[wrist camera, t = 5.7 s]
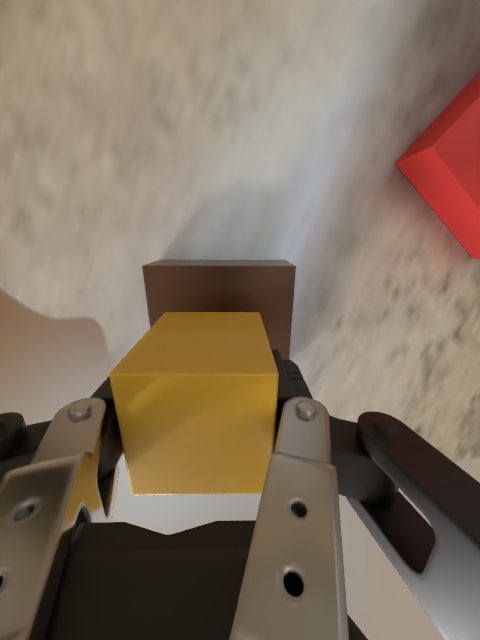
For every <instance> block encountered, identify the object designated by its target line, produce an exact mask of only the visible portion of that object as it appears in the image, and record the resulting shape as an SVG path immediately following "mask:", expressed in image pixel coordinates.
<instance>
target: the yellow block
mask: <svg viewBox="0 0 480 640" xmlns="http://www.w3.org/2000/svg"><path fill="white" fill-rule="evenodd" d="M109 377H110V382H111V387H112V393H113V398H114V403H115V408H116V413H117V419H118V424H119V429H120V434H121V439H122V445H123V450H124V455H125V460H126V465H127V471H128V476H129V481H130V486H131V491H132V494H133V495H184V494H185V495H187V494H262V491H263V487H264V482H265V478H266V473H267V469H268V464H269V460H270V455H271V452H272V450H274V439H275V424H276V409H277V394H278V379H279V374H278V371H277V367H276V364H275V361H274V358H273V354H272V351H271V348H270V345H269V341H268V338H267V335H266V331H265V328H264V325H263V322H262V318H261V315H260V313H259V312H165V313H164V314H163V315H162V316H161V317H160V318H159V319H158V321H157V322H156V323H155V324H154V325H153V326H152V327H151V328H150V329H149V331H148V332H147V333H146V334H145V335H144V336H143V337H142V338H141V339H140V341H139V342H138V343H137V344H136V345H135V346H134V347H133V348H132V349H131V351H130V352H129V353H128V354H127V355H126V356H125V357H124V358H123V359H122V361H121V362H120V363H119V364H118V365H117V366H116V367H115V368H114V370H113V371H112V372H111V373H110V376H109Z"/></svg>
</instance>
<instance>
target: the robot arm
mask: <svg viewBox="0 0 480 640" xmlns="http://www.w3.org/2000/svg"><path fill="white" fill-rule="evenodd" d="M271 351H272V354H273V358H274V361H275V364H276V367H277V371H278V374H279V379H278V394H277V409H276V424H275V439H274V450H272V452H271V455H270V460H269V464H268V469H267V473H266V478H265V482H264V487H263V491H262V496H261V500H260V505H259V510H258V514H257V519H256V521H215V522H212V523H208V524H205V525H202V526H198V527H195V528H192V529H188V530H185V531H182V532H179V533H175V534H171V535H165V534H161V533H158V532H154V531H151V530H148V529H145V528H142V527H139V526H136V525H132V524H129V523H126V522H112V520H113V512H114V505H115V498H116V490H117V482H118V475H119V467H118V461H119V459H120V457H121V455H124V450H123V445H122V439H121V434H120V429H119V424H118V419H117V413H116V408H115V403H114V398H113V393H112V387H111V382H110V377H108V378H107V380H105V381H104V383H103V384H102V385H101V386H100V387H99V388H98V389H97V391H96V392H95V393H94V394H93V395H92V396H91V397H90V398H85V399H81V400H77V401H74V402H72V403H70V404H68V405H66V406H65V407H63V408H62V409H60V410H59V411H58V412H57V413H56V414H55V416H54V418H53V419H52V420H51V421H47V422H42V423H37V424H32V425H27V426H26V424H25V421H24V418H23V416H22V415H21V414H19V413H3V414H0V640H368V639H367V638H366V637H365V636H364V634H363V633H362V632H361V631H360V629H359V628H358V627H357V625H356V624H355V623H354V622H353V620H352V619H351V618H350V617H349V616H348V614H347V607H346V593H345V578H344V565H343V551H342V537H341V524H340V510H339V497H338V494H340V495H343V496H346V498H347V500H348V501H349V503H350V505H351V506H352V507H353V509H354V510H355V511H356V513H357V515H358V516H359V517H360V519H361V520H362V522H363V523H364V524H365V526H366V527H367V529H368V530H369V531H370V533H371V535H372V536H373V537H374V539H375V540H376V542H377V543H378V545H379V546H380V547H381V549H382V550H383V552H384V553H385V554H386V556H387V557H388V559H389V560H390V562H391V563H392V565H393V566H394V567H395V569H396V570H397V572H398V573H399V575H400V576H401V577H402V579H403V580H404V582H405V583H406V584H407V586H408V587H409V589H410V590H411V591H412V593H413V594H414V596H415V597H416V599H417V600H418V602H419V603H420V605H421V606H422V607H423V609H424V610H425V611H426V613H427V614H428V616H429V617H430V619H431V620H432V622H433V623H434V624H435V626H436V627H437V629H438V630H439V632H440V633H441V635H442V636H443V637H444V639H445V640H480V483H479V482H478V481H476V480H475V479H474V478H473V477H471V476H470V475H469V474H467V473H466V472H465V471H463V470H462V469H461V468H460V467H459V466H457V465H456V464H455V463H453V462H452V461H451V460H450V459H448V458H447V457H446V456H445V455H443V454H442V453H441V452H439V451H438V450H437V449H436V448H434V447H433V446H432V445H430V444H429V443H428V442H427V441H425V440H424V439H423V438H422V437H420V436H419V435H418V434H416V433H415V432H414V431H413V430H411V429H410V428H409V427H407V426H406V425H405V424H404V423H402V422H401V421H399V420H398V419H396V418H394V417H392V416H390V415H387V414H384V413H380V412H365V413H363V414H361V415H360V416H359V418H358V422H357V423H355V422H350V421H346V420H341V419H338V418H335V417H332V416H330V415H329V413H328V410H327V409H326V407H325V406H324V405H322V404H321V403H320V402H318V401H316V400H314V399H313V398H312V396H311V393H310V391H309V389H308V387H307V385H306V383H305V381H304V379H303V376H302V374H301V372H300V370H299V368H298V366H297V365H296V364H295V363H294V362H292V361H291V360H282V358H281V356H280V353H279V350H278V349H271ZM399 488H400V489H401V490H402V491H403V493H404V494H405V495H406V496H407V497H408V498H409V499H410V500H411V501H412V502H413V503H414V504H415V505H416V506H417V508H419V510H420V511H421V512H422V513H423V514H424V515H425V516H426V518H427V519H428V520H429V522H430V524H431V526H432V527H431V526H430V525H429V524H428V523H427V521H426V520H425V519H424V518H423V517H422V516H421V515H420V514H419V513H418V512H417V511H416V510H415V508H413V506H412V505H411V504H410V503H409V502H408V501H407V500H406V499H405V498H404V497H403V495H401V493H400V492H399V491H398V489H399Z"/></svg>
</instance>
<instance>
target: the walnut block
mask: <svg viewBox="0 0 480 640" xmlns="http://www.w3.org/2000/svg"><path fill="white" fill-rule="evenodd" d="M295 271H296V266H294V265H293V264H291V263H289V262H287V261H285V260H158V261H155V262H152V263H149V264H146V265H143V274H144V283H145V291H146V299H147V307H148V315H149V323H150V328H151V327H152V326H153V325H154V324H155V323H156V322H157V321H158V319H159V318H160V317H161V316H162V315H163V314H164V313H165V312H259V313H260V315H261V318H262V322H263V325H264V328H265V331H266V335H267V338H268V341H269V345H270V348H271V349H278V350H279V353H280V356H281V358H282V360H289V348H290V335H291V323H292V310H293V297H294V284H295Z"/></svg>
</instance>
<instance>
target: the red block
mask: <svg viewBox="0 0 480 640" xmlns="http://www.w3.org/2000/svg"><path fill="white" fill-rule="evenodd" d="M395 164H396V165H397V166H398V168H399V169H400V170H401V171H402V173H403V174H404V175H405V176H406V177H407V179H408V180H409V181H410V182H411V183H412V185H413V186H414V187H415V188H416V190H417V191H418V192H419V193H420V194H421V196H422V197H423V198H424V199H425V201H426V202H427V203H428V204H429V205H430V207H431V208H432V209H433V210H434V212H435V213H436V214H437V215H438V216H439V218H440V219H441V220H442V221H443V223H444V224H445V225H446V226H447V227H448V229H449V230H450V231H451V232H452V234H453V235H454V236H455V237H456V238H457V240H458V241H459V242H460V243H461V244H462V246H463V247H464V248H465V249H466V251H467V252H468V253H469V254H470V255H471V257H472V258H476V259H480V72H479V73H478V74H477V75H476V76H475V77H474V79H473V80H472V81H471V82H470V83H469V84H468V85H467V86H466V87H465V88H464V89H463V90H462V91H461V93H460V94H459V95H458V96H457V97H456V98H455V99H454V100H453V101H452V102H451V103H450V104H449V105H448V107H447V108H446V109H445V110H444V111H443V112H442V113H441V114H440V115H439V116H438V117H437V118H436V120H435V121H434V122H433V123H432V124H431V125H430V126H429V127H428V128H427V129H426V130H425V131H424V132H423V134H422V135H421V136H420V137H419V138H418V139H417V140H416V141H415V142H414V143H413V144H412V145H411V147H410V148H409V149H408V150H407V151H406V152H405V153H404V154H403V155H402V156H401V157H400V158H399V159H398V161H397V162H396V163H395Z"/></svg>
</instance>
